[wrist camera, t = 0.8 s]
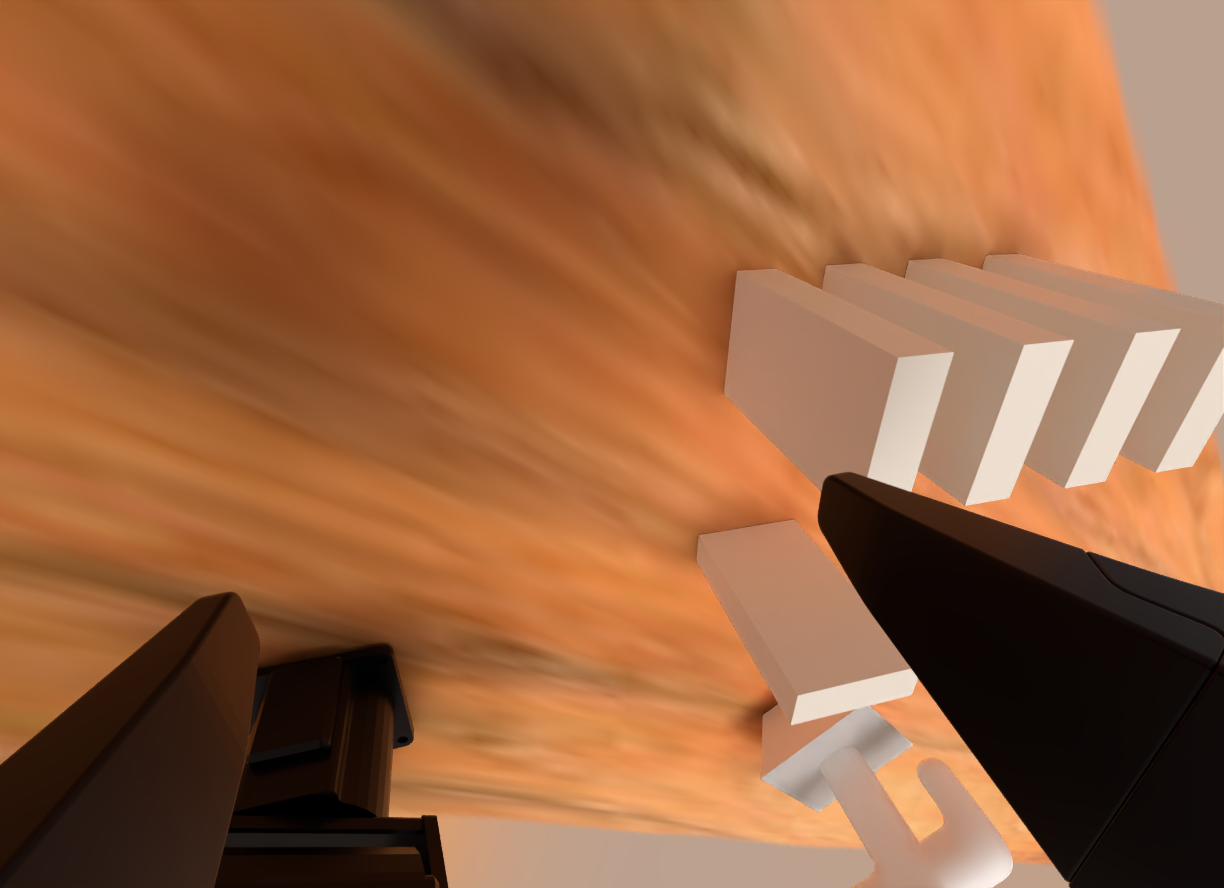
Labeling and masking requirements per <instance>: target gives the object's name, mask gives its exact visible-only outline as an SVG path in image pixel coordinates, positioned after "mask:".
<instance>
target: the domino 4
mask: <svg viewBox="0 0 1224 888" xmlns="http://www.w3.org/2000/svg"><path fill="white" fill-rule="evenodd" d="M905 279H908V280H911V281H913V282H916V283H919V284H922V285H925V286H927V287H930V288H933V289H936V290H938V291H941V292H944V293H947V294H949V295H952V296H955V297H958V298H960V299H963V300H966V301H969V302H971V303H974V304H977V305H980V306H983V307H985V308H988V309H991V310H994V311H996V312H999V313H1002V314H1005V315H1007V316H1010V317H1013V318H1016V319H1018V320H1021V321H1024V322H1027V323H1030V324H1032V325H1035V326H1038V327H1041V328H1043V329H1046V330H1049V331H1052V332H1054V333H1057V334H1060V335H1063V336H1065V337H1068V338H1071V339H1074V341H1073V344H1072V346H1071V349H1070V351H1069V354H1068V356H1067V358H1066V361H1065V363H1064V366H1063V368H1062V371H1061V373H1060V376H1059V378H1058V380H1057V383H1056V385H1055V388H1054V390H1053V393H1052V395H1051V397H1050V400H1049V402H1048V405H1047V407H1046V410H1045V412H1044V414H1043V417H1042V419H1041V422H1040V424H1039V427H1038V429H1037V432H1036V434H1035V436H1034V439H1033V441H1032V444H1031V446H1030V449H1029V451H1028V453H1027V456H1026V458H1025V461H1024V463H1023V464H1025V465H1027V466H1028V467H1030V468H1032V469H1033V470H1035V471H1036V472H1038V473H1040V474H1041V475H1043V476H1045V477H1046V478H1048V479H1050V480H1051V481H1053V482H1055V483H1056V484H1058V485H1060V486H1061V487H1063V488H1069V487H1075V486H1081V485H1087V484H1093V483H1098V482H1104V481H1105V480H1106V478H1107V476H1108V474H1109V472H1110V470H1111V468H1112V466H1113V464H1114V462H1115V460H1116V458H1117V456H1118V454H1119V452H1120V450H1121V448H1122V446H1123V444H1124V442H1125V440H1126V438H1127V436H1128V434H1129V432H1130V430H1131V428H1132V426H1133V424H1134V422H1135V420H1136V418H1137V416H1138V414H1139V412H1140V410H1141V408H1142V406H1143V404H1144V402H1145V400H1146V398H1147V396H1148V394H1149V392H1150V390H1151V388H1152V386H1153V384H1154V382H1155V380H1156V378H1157V376H1158V374H1159V372H1160V370H1161V368H1162V366H1163V364H1164V362H1165V360H1166V358H1167V356H1168V354H1169V352H1170V350H1171V348H1172V346H1173V344H1174V342H1175V340H1176V338H1177V336H1178V334H1179V332H1180V330H1181V328H1178V327H1175V326H1171V325H1168V324H1165V323H1161V322H1158V321H1154V320H1151V319H1148V318H1144V317H1141V316H1137V315H1134V314H1131V313H1127V312H1124V311H1120V310H1117V309H1114V308H1110V307H1107V306H1103V305H1100V304H1097V303H1093V302H1090V301H1087V300H1083V299H1080V298H1076V297H1073V296H1070V295H1066V294H1063V293H1059V292H1056V291H1053V290H1049V289H1046V288H1042V287H1039V286H1036V285H1032V284H1029V283H1025V282H1022V281H1019V280H1015V279H1012V278H1009V277H1005V276H1002V275H998V274H995V273H992V272H988V271H985V270H981V269H978V268H975V267H971V266H968V265H964V264H961V263H958V262H954V261H951V260H947V259H944V258H937V259H921V260H909V262H908V266H907V270H906V274H905Z"/></svg>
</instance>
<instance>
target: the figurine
mask: <svg viewBox="0 0 1224 888" xmlns="http://www.w3.org/2000/svg"><path fill="white" fill-rule="evenodd" d="M911 746H913V744H912V743H911V742H910V741H909V740H908V739H907V738H906V737H904V736H903V735H902V734H901V733H900V732H899V731H898V730H896V729H895V728H894V727H893V726H892V725H891V724H890V723H889V722H887V721H886V720H885V719H884V718H883V717H882V716H881V715H879V714H878V713H877V712H876V711H875V710H874V709H873V708H872V707H870V706H866V707H862V708H858V709H854V710H850V711H846V712H842V713H838V714H834V715H830V716H826V717H822V718H818V719H814V720H810V721H806V722H802V723H798V724H794V725H790V723H789V722H788V720H787V718H786V716H785V715H784V713H783V711H782V710H781V708H780V706H779V704H777V705H776V706H774V707H773V708H772V709H770V710H769V711H768V712H766V713H765V714H764V715H763V724H762V751H761V778H760V779H762V780H763V781H765V782H767V783H769V784H770V785H772V786H774V787H776V788H777V789H779V790H781V791H782V792H784V793H786V794H788V795H789V796H791V797H793V798H794V799H796V800H798V801H800V802H801V803H803V804H805V805H807V806H808V807H810V808H812V809H813V810H815V811H817V812H819V811H821V810H822V809H823V808H825V807H826V806H828V805H829V804H831V803H832V802H833V801H835V800H836V799H837V800H838V802H839V803H840V805H841V807H842V808H843V810H844V812H845V814H846V815H847V817H848V819H849V821H850V822H851V824H852V826H853V827H854V829H855V831H856V833H857V834H858V836H859V838H860V840H861V841H862V843H863V845H864V846H865V848H866V850H867V852H868V853H869V855H870V857H871V858H872V860H873V862H874V864H875V869H874V871H873V873H872V874H871V875H870V876H868V877H867V878H865V879H864V880H862V881H861V882H860V883H858V884H856V885H855V886H853V887H852V888H992V887H994V886H995V885H997V884H998V883H1000V882H1001V881H1003V880H1004V879H1005V878H1006V877H1007V876H1008V875H1009V874H1010V872H1011V870H1012V867H1013V860H1012V856H1011V853H1010V851H1009V849H1008V847H1007V845H1006V843H1005V841H1004V840H1003V838H1002V837H1001V835H1000V833H999V832H998V831H997V829H996V828H995V826H994V825H993V824H992V822H991V821H990V820H989V818H988V817H987V816H986V814H985V813H984V812H983V811H982V809H981V808H980V807H979V805H978V804H977V803H976V801H975V800H974V799H973V798H972V796H971V795H970V794H969V792H968V791H967V790H966V789H965V787H964V786H963V785H962V783H961V782H960V781H959V780H958V778H957V777H956V776H955V774H954V773H953V772H952V771H951V769H950V768H949V767H948V766H947V765H946V764H945V763H944V762H943V761H941V760H939V759H937V758H927V759H925V760H923V761H922V762H920V764H919V765H918V767H917V774H918V777H919V779H920V781H921V783H922V784H923V786H924V787H925V788H926V790H927V791H928V793H929V794H930V795H931V797H932V798H933V800H934V801H935V803H936V804H937V806H938V808H939V809H940V811H941V813H942V815H943V818H944V825H943V826H942V827H941V828H940V829H938V830H937V831H935V832H934V833H932V834H931V835H929V836H928V837H926V838H925V839H923V840H922V841H920V842H919V841H918V840H917V838H916V837H915V835H914V834H913V832H912V831H911V829H910V827H909V826H908V824H907V823H906V821H905V820H904V818H903V817H902V815H901V814H900V812H899V811H898V809H897V808H896V806H895V805H894V803H893V802H892V800H891V799H890V797H889V796H888V794H887V793H886V791H885V789H884V788H883V786H882V785H881V783H880V782H879V780H878V779H877V777H876V776H875V774H874V772H876V771H877V770H879V769H880V768H882V767H883V766H884V765H886V764H887V763H889V762H890V761H892V760H893V759H894V758H896V757H897V756H899V755H900V754H901V753H903V752H904V751H906V750H907V749H909V748H910V747H911Z"/></svg>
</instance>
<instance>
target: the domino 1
mask: <svg viewBox="0 0 1224 888" xmlns="http://www.w3.org/2000/svg"><path fill="white" fill-rule="evenodd" d="M953 354H954V352H953V351H951V350H949V349H947V348H945V347H943V346H941V345H938V344H936V343H934V342H932V341H930V340H928V339H926V338H924V337H921V336H919V335H917V334H915V333H913V332H911V331H909V330H907V329H904V328H902V327H900V326H898V325H896V324H894V323H892V322H889V321H887V320H885V319H883V318H881V317H879V316H877V315H875V314H872V313H870V312H868V311H866V310H864V309H862V308H860V307H858V306H855V305H853V304H851V303H849V302H847V301H845V300H843V299H840V298H838V297H836V296H834V295H832V294H830V293H828V292H826V291H823V290H821V289H819V288H817V287H815V286H813V285H811V284H809V283H806V282H804V281H802V280H800V279H798V278H796V277H794V276H791V275H789V274H787V273H785V272H783V271H781V270H779V269H777V268H774V269H758V270H741V271H737V275H736V284H735V294H734V303H733V312H732V322H731V331H730V340H729V350H728V359H727V368H726V378H725V387H724V395H725V396H726V397H727V398H728V399H729V400H730V401H731V402H732V403H733V404H734V405H735V406H736V407H737V408H738V409H739V410H740V411H741V412H742V413H743V414H744V415H745V416H746V417H747V418H748V419H749V420H750V421H751V422H752V423H753V424H754V425H755V426H756V427H757V428H758V429H759V430H760V431H761V432H762V433H763V434H764V435H765V436H766V437H767V438H768V439H769V440H770V441H771V442H772V443H773V444H774V445H775V446H776V447H777V448H778V449H779V450H780V451H781V452H782V453H783V454H784V455H785V456H786V457H787V458H788V459H789V460H790V461H791V462H792V463H793V464H794V465H795V466H796V467H797V468H798V469H799V470H800V471H801V472H802V473H803V474H804V475H805V476H806V477H807V478H808V479H810V480H811V481H812V482H813V483H814V484H815V485H816V486H817V487H818V488H819V489H820V490H821V491H822V485H823V481H824V480H825V478H826V477H827V476H829V475H833V474H838V473H843V472H853V473H856V474H859V475H862V476H865V477H868V478H871V479H874V480H877V481H880V482H883V483H886V484H889V485H892V486H895V487H898V488H901V489H904V490H907V491H910V492H911V491H912V487H913V484H914V481H915V478H916V474H917V471H918V468H919V465H920V461H921V458H922V455H923V452H924V448H925V445H926V442H927V439H928V435H929V432H930V429H931V426H932V422H933V419H934V416H935V413H936V409H937V406H938V403H939V400H940V396H941V393H942V390H943V387H944V383H945V380H946V377H947V374H948V370H949V367H950V364H951V361H952V357H953Z"/></svg>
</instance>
